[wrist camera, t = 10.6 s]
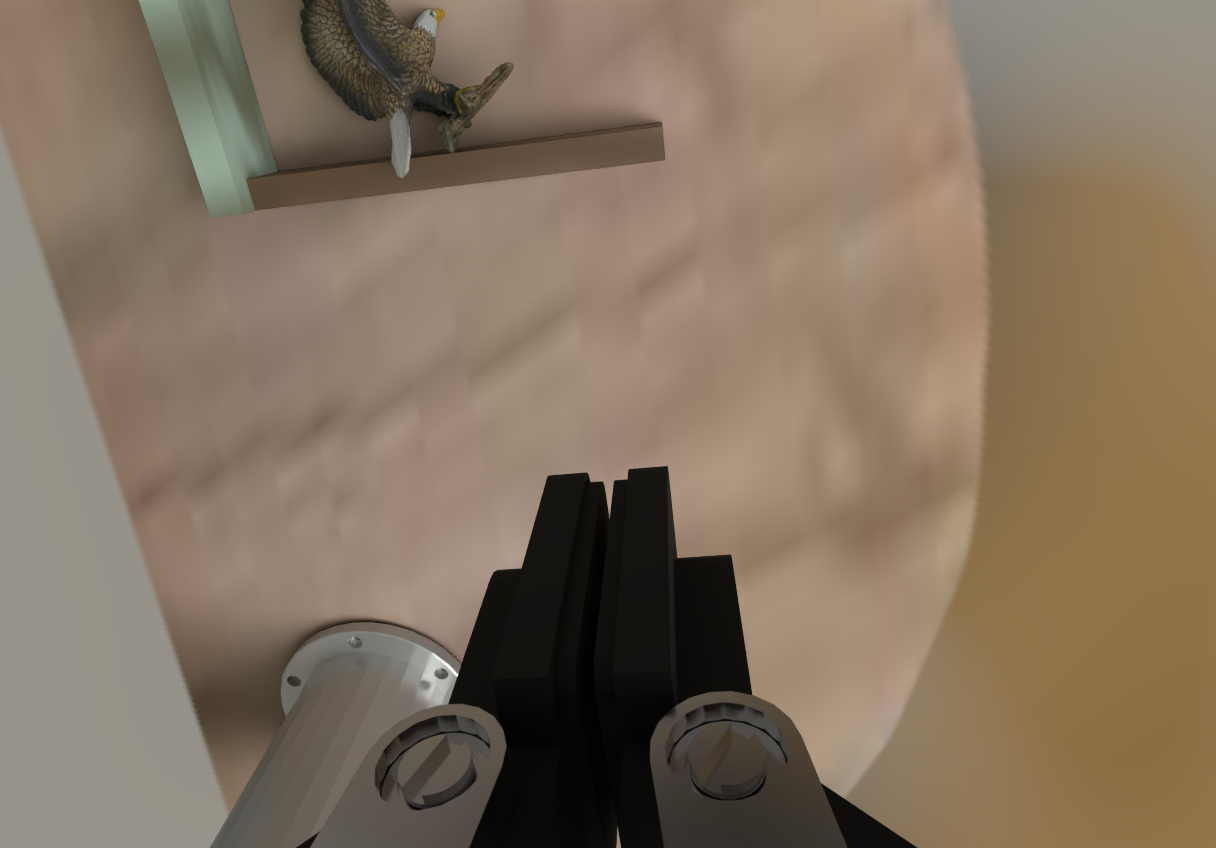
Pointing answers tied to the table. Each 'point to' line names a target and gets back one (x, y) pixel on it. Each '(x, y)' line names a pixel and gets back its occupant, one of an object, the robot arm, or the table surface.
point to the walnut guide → (248, 178)
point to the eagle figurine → (389, 69)
